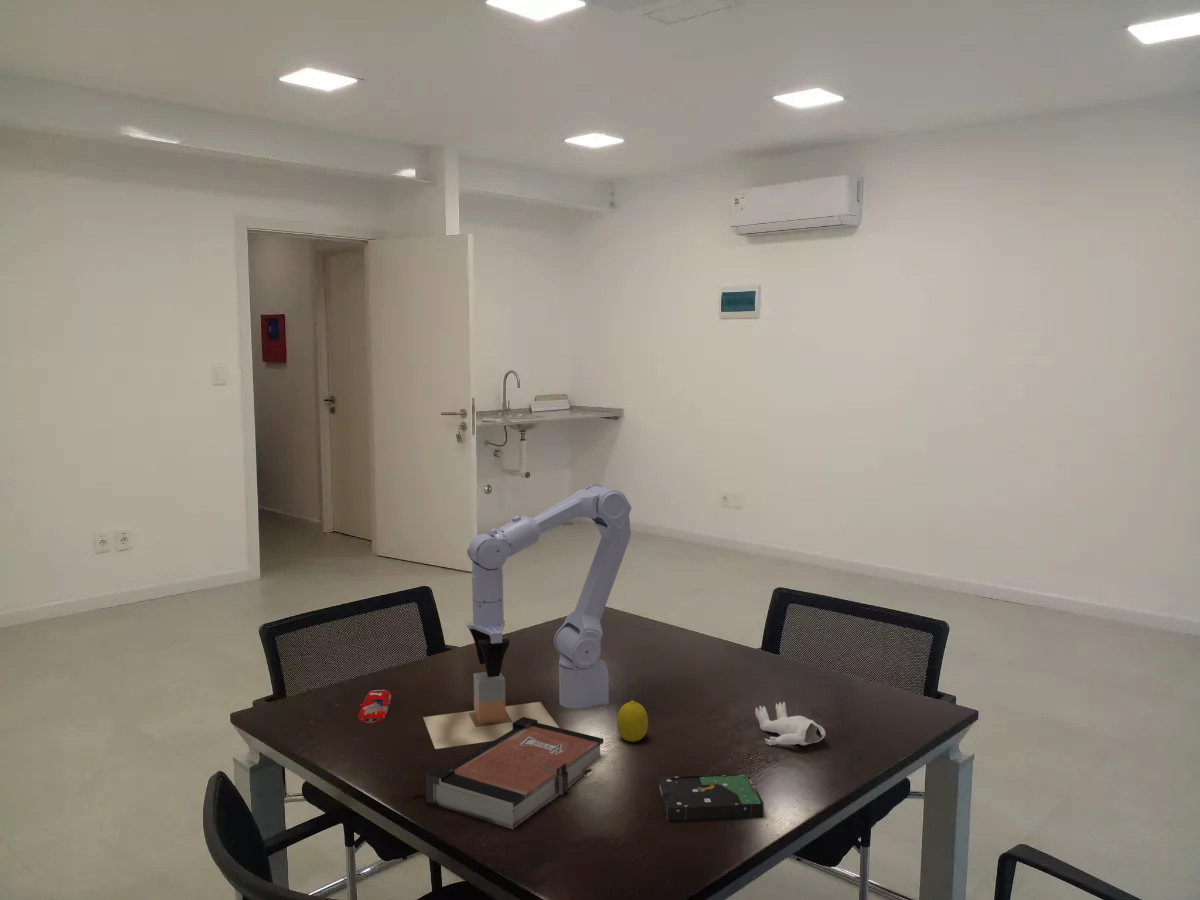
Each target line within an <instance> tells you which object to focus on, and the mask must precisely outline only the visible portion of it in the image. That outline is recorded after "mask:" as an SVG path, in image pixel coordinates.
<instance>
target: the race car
mask: <svg viewBox="0 0 1200 900" xmlns="http://www.w3.org/2000/svg"><path fill="white" fill-rule="evenodd" d="M391 704H392V695H391V692H390V691H389V690H387V689H375V690H371V691H368V693H367V694H366V696H365V698H364V700H363V703H360V704H359V707H360V710H359V712H358V716H357V717H358V718H357V720H358V722H361V723H366V724H375V723H379V722H382V721H384V720H386V716H387V714H388V713H389V712H388V711H389V707H390V706H391Z"/></svg>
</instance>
